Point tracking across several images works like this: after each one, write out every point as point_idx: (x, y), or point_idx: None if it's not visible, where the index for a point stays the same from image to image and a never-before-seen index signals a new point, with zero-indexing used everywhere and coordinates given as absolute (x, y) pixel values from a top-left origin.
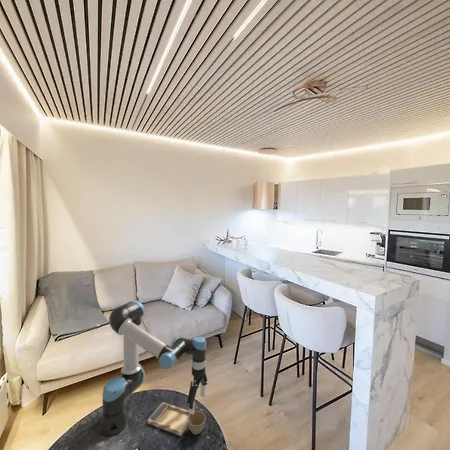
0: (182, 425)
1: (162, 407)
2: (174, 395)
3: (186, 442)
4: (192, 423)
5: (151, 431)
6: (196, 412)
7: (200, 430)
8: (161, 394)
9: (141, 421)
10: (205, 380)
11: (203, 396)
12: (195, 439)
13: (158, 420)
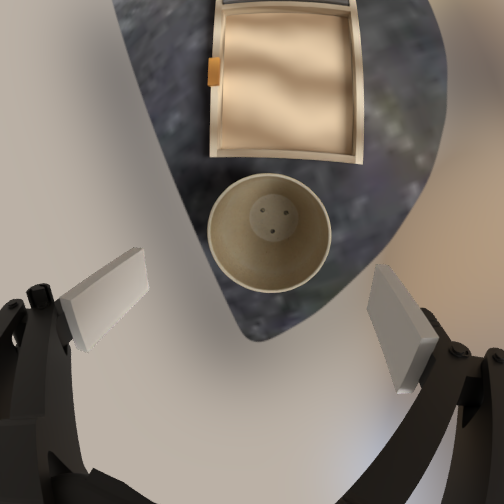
0: (269, 135)
1: None
2: (434, 25)
3: (197, 200)
4: (287, 190)
5: (190, 25)
6: (321, 210)
7: (249, 257)
8: None
9: None
10: (467, 404)
11: (370, 300)
12: None
13: (249, 13)
